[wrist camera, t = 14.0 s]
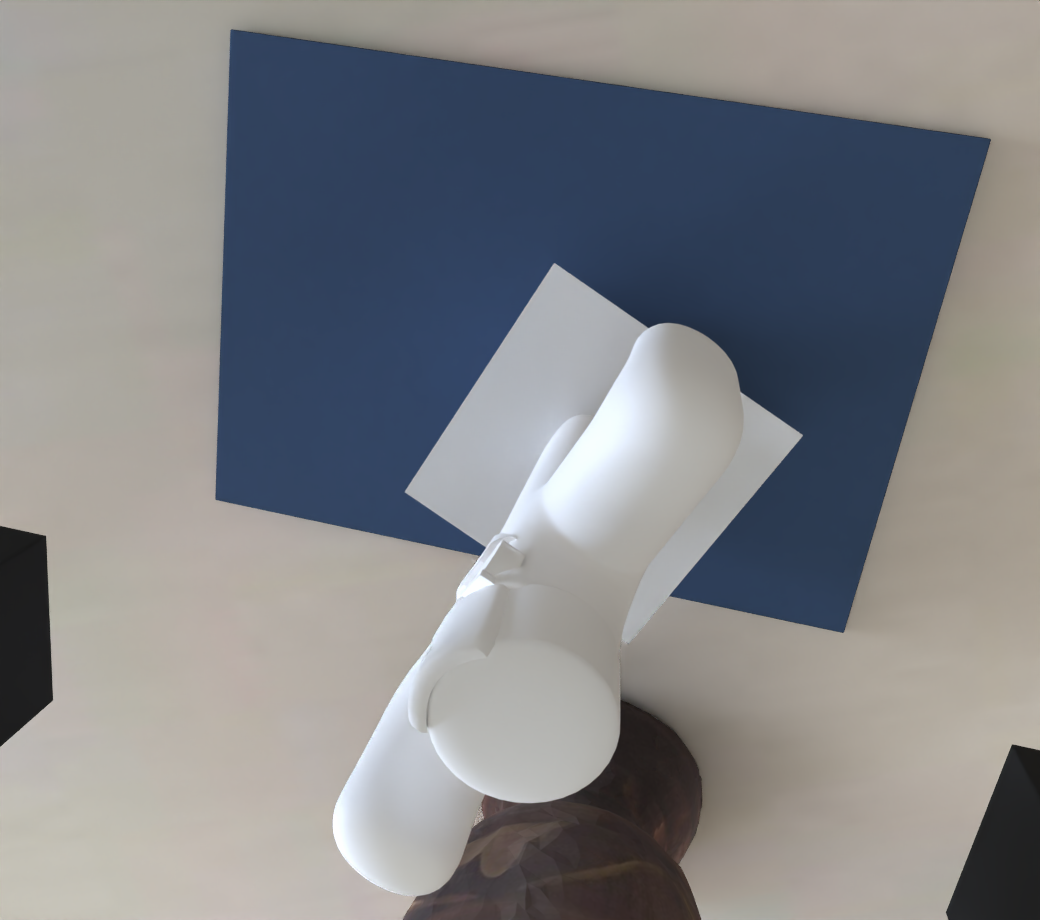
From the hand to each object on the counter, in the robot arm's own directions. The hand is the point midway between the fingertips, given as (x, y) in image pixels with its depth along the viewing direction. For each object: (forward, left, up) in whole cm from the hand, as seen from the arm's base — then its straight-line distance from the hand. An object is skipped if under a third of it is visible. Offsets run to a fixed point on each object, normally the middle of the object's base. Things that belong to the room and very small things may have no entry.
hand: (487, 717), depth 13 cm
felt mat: (-2, -2, -16) cm, 16 cm away
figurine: (0, 0, -15) cm, 15 cm away
